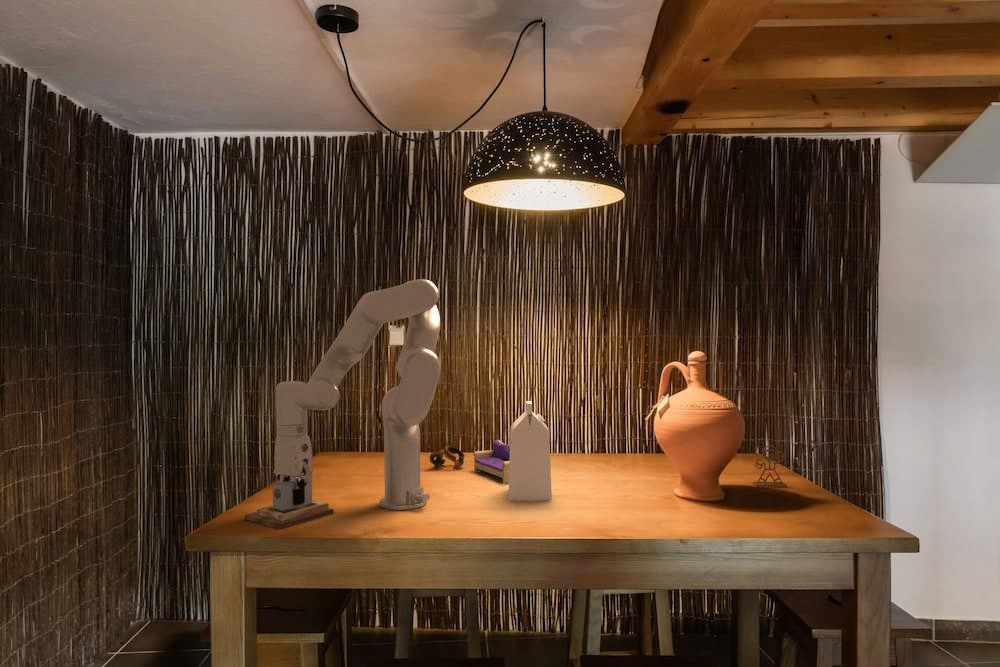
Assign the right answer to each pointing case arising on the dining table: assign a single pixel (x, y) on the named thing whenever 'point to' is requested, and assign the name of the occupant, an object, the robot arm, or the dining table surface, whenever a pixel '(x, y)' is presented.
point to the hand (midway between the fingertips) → (293, 502)
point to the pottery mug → (448, 455)
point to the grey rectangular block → (289, 495)
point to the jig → (290, 515)
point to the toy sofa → (494, 460)
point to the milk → (529, 458)
